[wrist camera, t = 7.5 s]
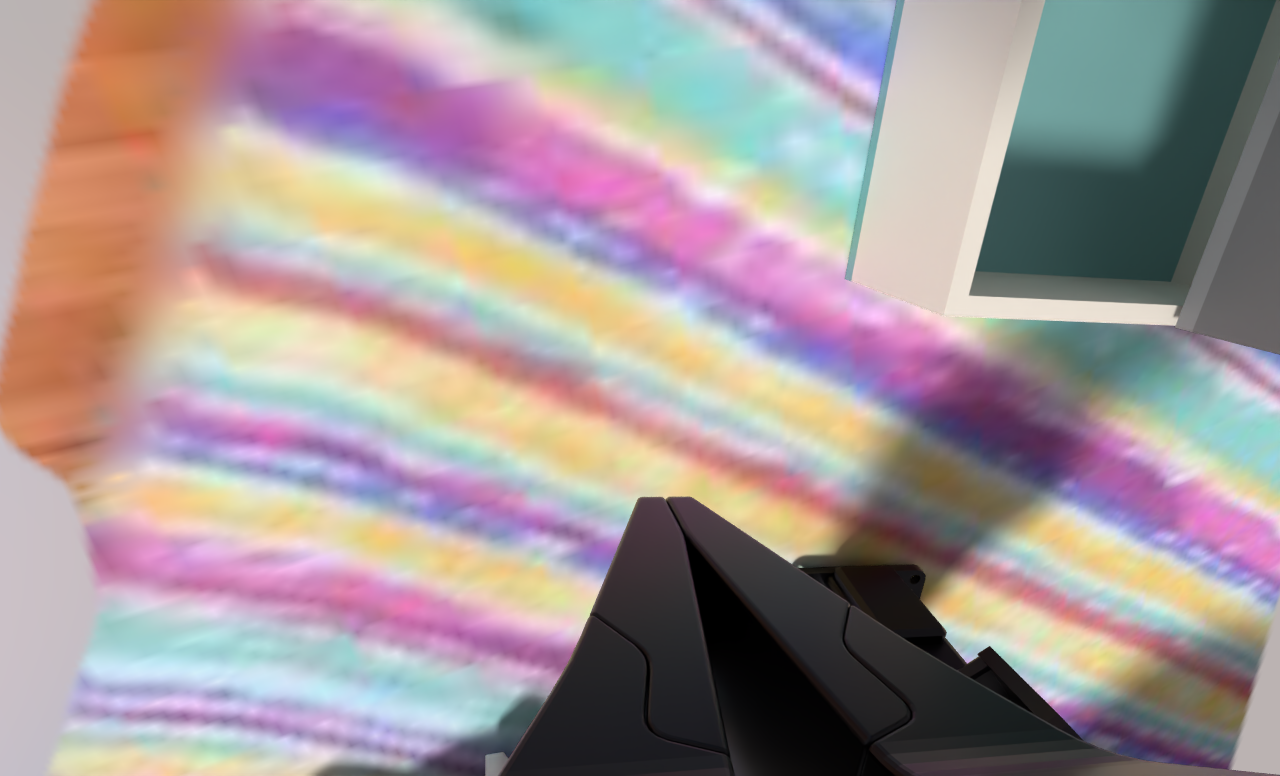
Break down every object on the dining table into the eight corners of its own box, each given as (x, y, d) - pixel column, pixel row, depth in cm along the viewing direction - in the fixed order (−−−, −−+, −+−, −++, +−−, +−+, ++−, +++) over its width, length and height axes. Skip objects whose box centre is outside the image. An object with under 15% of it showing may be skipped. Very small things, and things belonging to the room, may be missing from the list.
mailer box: (1166, 295, 24) (1350, 332, 18) (844, 279, 22) (943, 316, 16) (1297, -56, 20) (1584, -144, 14) (918, -117, 18) (1082, -247, 12)
